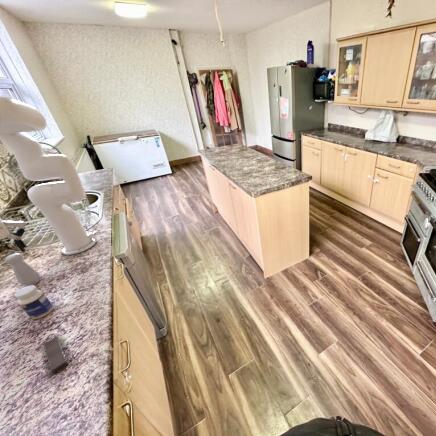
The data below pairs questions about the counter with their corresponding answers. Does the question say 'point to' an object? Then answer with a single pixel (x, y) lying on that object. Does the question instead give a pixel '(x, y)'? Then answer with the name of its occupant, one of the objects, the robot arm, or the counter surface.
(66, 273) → the counter surface
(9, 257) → the salt shaker
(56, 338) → the dark grey flat bar
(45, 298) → the pill bottle
